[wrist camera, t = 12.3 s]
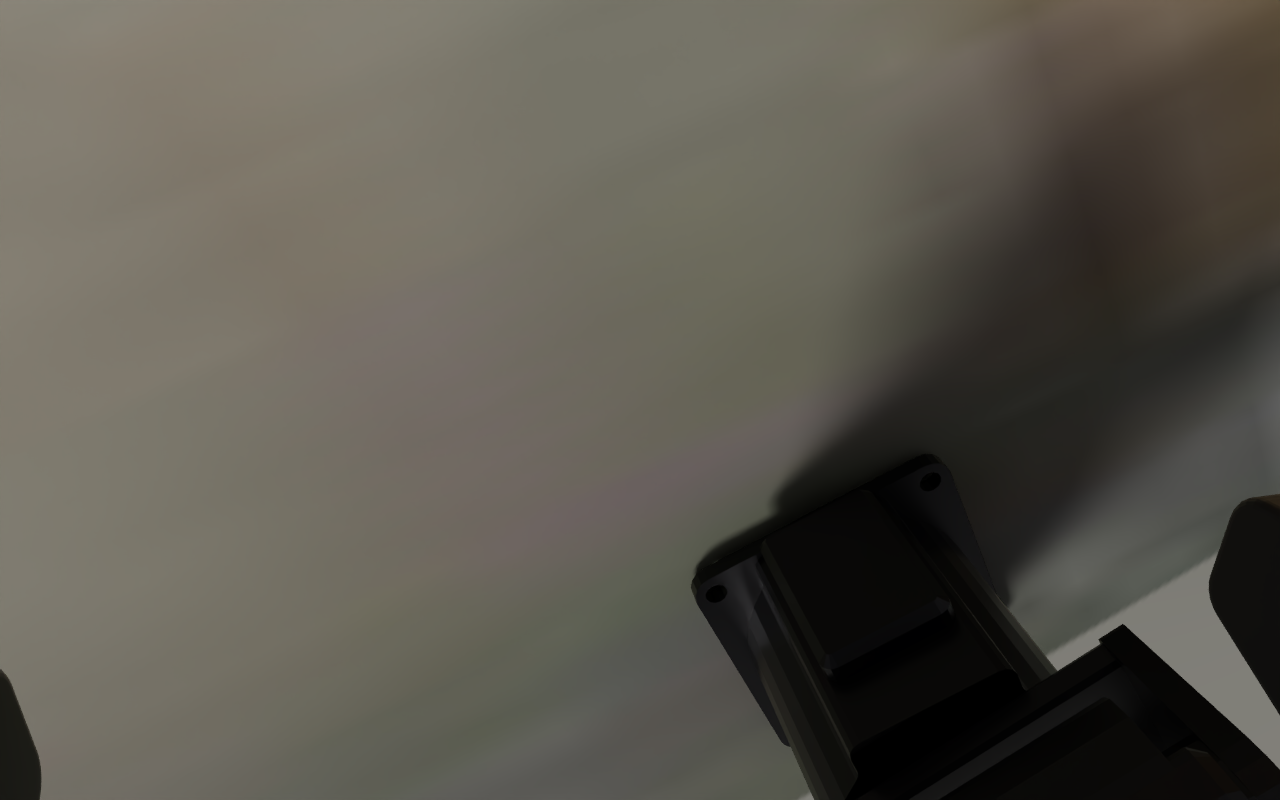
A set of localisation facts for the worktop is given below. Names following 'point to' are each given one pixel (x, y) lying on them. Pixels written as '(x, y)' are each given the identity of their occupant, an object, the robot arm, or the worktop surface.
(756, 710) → the worktop surface
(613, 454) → the worktop surface
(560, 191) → the worktop surface
